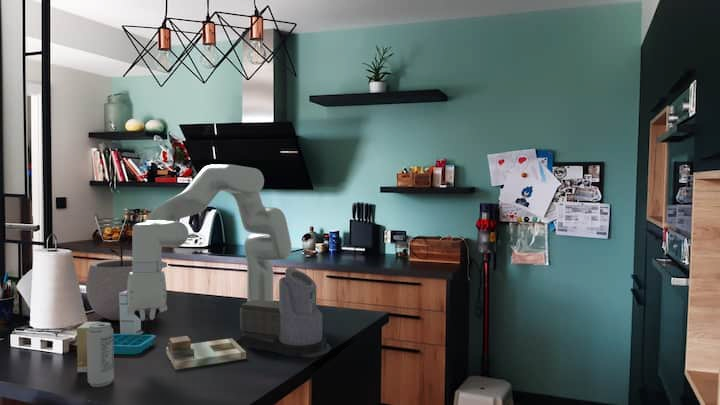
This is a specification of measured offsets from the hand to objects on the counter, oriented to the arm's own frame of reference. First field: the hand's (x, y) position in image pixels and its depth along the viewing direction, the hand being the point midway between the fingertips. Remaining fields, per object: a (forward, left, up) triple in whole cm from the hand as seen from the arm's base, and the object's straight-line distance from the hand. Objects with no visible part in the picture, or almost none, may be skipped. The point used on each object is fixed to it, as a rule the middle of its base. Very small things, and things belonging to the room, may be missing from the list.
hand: (146, 333), depth 152 cm
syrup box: (0, -34, -9) cm, 36 cm away
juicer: (-40, +1, -9) cm, 41 cm away
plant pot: (+1, -57, -9) cm, 58 cm away
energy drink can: (+12, +9, -9) cm, 18 cm away
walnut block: (-9, 0, -7) cm, 11 cm away
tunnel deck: (-16, 0, -9) cm, 19 cm away
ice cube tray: (+6, -20, -10) cm, 23 cm away
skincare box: (+14, -4, -9) cm, 17 cm away
